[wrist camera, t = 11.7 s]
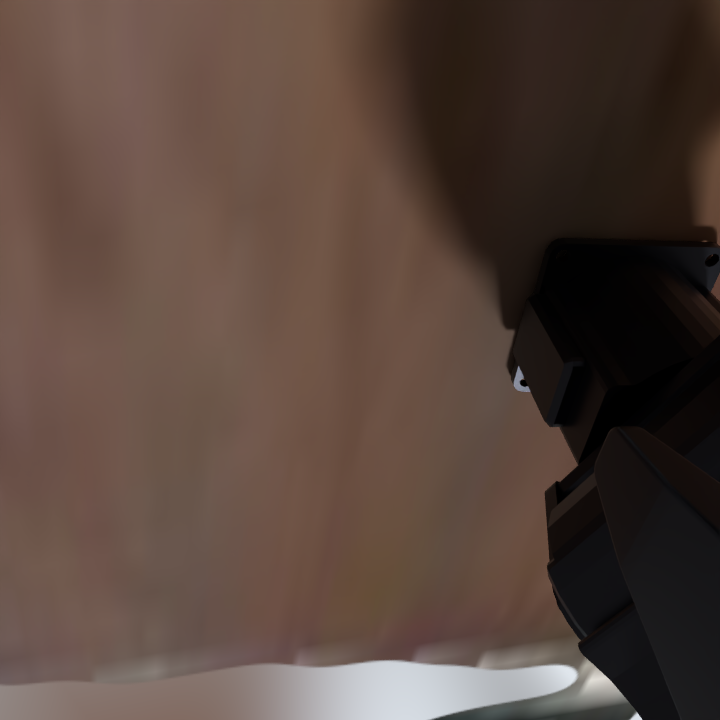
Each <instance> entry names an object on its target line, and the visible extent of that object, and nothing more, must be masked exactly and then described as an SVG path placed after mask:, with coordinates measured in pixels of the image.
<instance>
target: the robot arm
mask: <svg viewBox="0 0 720 720" xmlns="http://www.w3.org/2000/svg"><path fill="white" fill-rule="evenodd" d="M563 250H567V251H566V253H565V255H563V256H562V257H559V258H556V256H557V254H558V253H559V252H560V251H563ZM712 254H713V256H712V257H711V258H710V259H709V260H707V261H705V260H706V258H707V257H708V256H710V255H712ZM719 273H720V246H719V245H718V244H717V243H713V242H684V241H648V240H612V239H577V238H561V239H557V240H555V241H553V242H551V243H550V244H549V245H548V247H547V249H546V251H545V255H544V258H543V262H542V266H541V269H540V273H539V276H538V280H537V284H536V287H535V291H534V294H532V295H531V296H530V297H529V298H528V299H527V301H526V305H525V308H524V312H523V316H522V319H521V323H520V327H519V330H518V334H517V338H516V342H515V345H514V349H513V355H514V357H515V363H514V367H513V370H512V374H511V380H512V383H513V385H514V387H515V389H517V390H518V391H523V392H529V391H531V394H532V396H533V398H534V400H535V402H536V404H537V406H538V408H539V411H540V413H541V415H542V417H543V419H544V421H545V422H546V423H547V424H548V425H549V426H550V427H560V429H561V431H562V433H563V435H564V437H565V439H566V441H567V443H568V446H569V448H570V450H571V452H572V454H573V456H574V458H575V460H576V462H577V464H578V466H577V467H576V468H575V469H574V470H573V471H571V472H570V473H569V474H568V475H567V476H566V477H565V478H564V479H563V480H562V481H561V482H558V481H556V482H555V483H554V484H553V485H552V486H551V487H550V488H548V489H547V490H546V491H545V503H546V517H547V531H548V545H549V559H550V562H549V563H548V565H547V570H548V577H549V579H550V581H551V583H552V588H553V593H554V595H555V598H556V601H557V605H558V607H559V609H560V610H561V611H562V613H563V615H564V617H565V619H566V621H567V622H568V624H569V625H570V626H571V628H572V629H573V631H574V632H575V634H576V635H577V636H578V638H579V639H580V640H581V641H580V642H579V643H578V647H579V650H580V651H581V653H582V654H583V655H584V656H585V657H586V658H587V659H588V660H589V661H590V662H591V663H593V664H594V665H595V666H596V667H597V668H598V669H599V670H600V671H601V672H602V673H603V674H604V675H606V676H607V677H608V678H609V679H610V680H611V681H612V682H613V684H614V685H615V686H616V687H617V688H618V689H619V691H620V692H621V693H622V694H623V695H624V697H625V698H626V699H627V700H628V701H629V703H630V704H631V705H632V706H633V707H634V708H635V710H636V711H637V712H638V714H639V715H640V717H641V718H642V720H720V301H719V300H718V299H717V298H716V297H715V296H714V295H713V294H712V293H711V290H712V288H713V286H714V284H715V282H716V279H717V277H718V275H719ZM522 378H524V379H525V380H521V379H522Z"/></svg>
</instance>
